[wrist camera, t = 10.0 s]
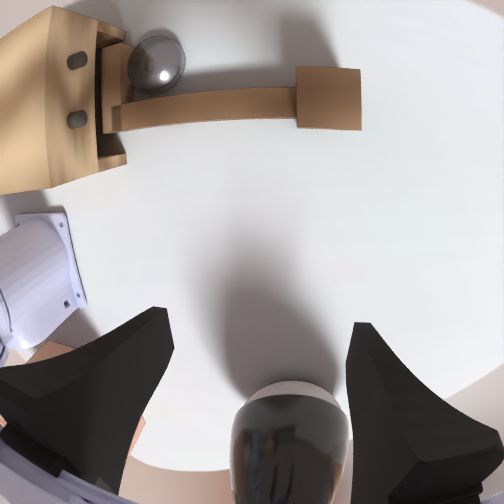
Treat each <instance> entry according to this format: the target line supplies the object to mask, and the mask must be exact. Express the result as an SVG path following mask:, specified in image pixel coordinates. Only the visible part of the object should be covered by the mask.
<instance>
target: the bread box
mask: <svg viewBox="0 0 504 504" xmlns="http://www.w3.org/2000/svg"><path fill="white" fill-rule="evenodd" d="M124 37H125V31H124V30H121V29H119V28H116V27H114V26H111V25H109V24H106V23H103V22H101V21H98V20H95V19H93V18H90V17H87V16H84V15H81V14H78V13H75V12H72V11H69V10H66V9H63V8H59V7H56V6H50V7H49V8H47V9H45V10H43V11H42V12H40V13H39V14H37V15H35V16H34V17H32V18H30V19H29V20H27V21H26V22H24V23H23V24H21V25H20V26H18V27H17V28H15V29H14V30H12V31H11V32H10V33H8V34H7V35H6V36H4V37H2V38H1V39H0V195H5V194H11V193H18V192H25V191H32V190H40V189H48V188H53V187H56V186H58V185H61V184H64V183H67V182H70V181H73V180H76V179H79V178H82V177H85V176H88V175H92V174H95V173H98V172H101V171H105V170H108V169H111V168H115V167H118V166H122V165H125V164H127V162H126V154H117V155H109V156H102V157H97V145H96V128H95V51H96V49H98V48H101V47H104V46H107V45H110V44H113V43H116V42H120V41H123V40H124Z"/></svg>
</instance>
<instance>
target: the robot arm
mask: <svg viewBox="0 0 504 504" xmlns="http://www.w3.org/2000/svg"><path fill="white" fill-rule="evenodd" d="M15 223H16V228H14V229H12V230H10V231H8V232H6V233H5V234H3V235H1V236H0V415H1V416H2V417H3V419H4V420H5V421H6V422H7V424H6V425H5V426H4V427H3V426H2V425H1V424H0V494H1V495H2V496H3V497H4V498H5V499H6V500H7V501H9V502H10V503H11V504H138V503H135V502H133V501H130V500H127V499H125V498H122V497H119V496H118V494H119V488H120V484H121V479H122V474H123V470H124V466H125V463H126V459H127V456H128V452H129V449H130V446H131V443H132V440H133V437H134V434H135V432H136V429H137V426H138V424H139V421H140V418H141V416H142V414H143V412H144V410H145V408H146V406H147V404H148V402H149V400H150V398H151V397H152V395H153V393H154V391H155V389H156V387H157V386H158V384H159V382H160V380H161V378H162V376H163V375H164V373H165V371H166V369H167V367H168V364H169V361H170V359H171V356H172V353H173V350H174V343H173V338H172V333H171V328H170V323H169V318H168V313H167V308H161V307H154V306H153V307H151V308H149V309H147V310H146V311H144V312H142V313H140V314H139V315H137V316H135V317H134V318H132V319H131V320H129V321H127V322H126V323H124V324H122V325H121V326H119V327H117V328H116V329H114V330H112V331H111V332H109V333H107V334H105V335H103V336H101V337H100V338H98V339H96V340H94V341H92V342H90V343H88V344H86V345H84V346H82V347H79V348H77V349H75V350H72V351H70V352H67V353H64V354H61V355H58V356H55V357H52V358H49V359H45V360H42V361H38V362H33V363H28V364H23V365H16V366H7V367H4V366H5V363H6V361H7V358H8V348H7V347H9V348H10V349H14V350H25V349H29V348H31V347H34V346H36V345H38V344H39V343H41V342H42V341H44V340H45V339H46V338H47V337H48V336H49V335H50V334H51V333H52V332H53V331H54V330H55V329H56V328H57V327H58V326H59V325H60V324H61V323H62V322H63V321H64V320H65V319H66V318H67V317H68V316H70V315H71V314H72V313H73V312H74V311H75V310H76V309H77V308H85V307H86V306H87V303H86V299H85V296H84V293H83V289H82V285H81V282H80V278H79V274H78V270H77V266H76V262H75V258H74V254H73V249H72V245H71V240H70V235H69V230H68V225H67V219H66V216H65V214H64V213H38V214H19V215H16V216H15ZM62 223H63V225H62ZM346 387H347V395H348V402H349V409H350V416H351V423H352V431H353V481H352V493H351V503H350V504H504V491H502V492H499V493H497V494H494V495H492V496H489V497H487V498H485V499H484V500H482V501H480V499H479V494H481V493H482V491H483V487H482V483H481V482H482V481H483V480H484V479H486V478H487V477H488V476H489V475H490V474H491V473H492V472H493V471H494V470H495V469H497V467H498V466H499V465H500V464H501V463H502V461H503V460H504V446H503V444H502V441H501V438H500V436H499V433H498V431H497V430H495V429H493V428H491V427H489V426H486V425H484V424H482V423H480V422H478V421H476V420H474V419H472V418H470V417H468V416H467V415H465V414H463V413H462V412H460V411H458V410H457V409H455V408H454V407H452V406H451V405H449V404H448V403H447V402H445V401H444V400H443V399H441V398H440V397H439V396H437V395H436V394H435V393H434V392H432V391H431V390H430V389H429V388H428V387H427V386H425V385H424V384H423V383H422V382H421V381H420V380H419V379H418V378H417V377H416V376H415V375H414V374H413V373H412V372H411V371H410V370H409V369H408V368H407V367H406V366H405V365H404V364H403V363H402V362H401V360H400V359H399V358H398V357H397V356H396V355H395V353H394V352H393V351H392V350H391V348H390V347H389V346H388V345H387V343H386V342H385V341H384V340H383V338H382V337H381V336H380V334H379V333H378V332H377V331H376V329H375V328H374V327H373V325H372V324H371V323H363V322H354V327H353V332H352V337H351V341H350V346H349V350H348V355H347V359H346Z"/></svg>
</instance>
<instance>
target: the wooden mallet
mask: <svg viewBox="0 0 504 504" xmlns="http://www.w3.org/2000/svg"><path fill="white" fill-rule="evenodd" d="M133 50H134V47H132V46H129V45H127V44H124V43H118V44H114V45H111V46H108V47H105V48H102V72H101V89H102V122H103V134H108V133H117V132H123V131H129V130H136V129H142V128H150V127H157V126H165V125H174V124H183V123H194V122H206V121H221V120H241V119H297V127H298V128H310V129H333V130H361V74H360V69H349V68H336V67H316V66H296V87H266V88H242V89H227V90H214V91H204V92H195V93H187V94H179V95H172V96H165V97H159V98H153V99H147V100H142V101H136V102H134V85H133V84H132V83H131V81H130V80H129V77H128V73H127V65H128V60H129V58H130V55H131V53H132V52H133Z"/></svg>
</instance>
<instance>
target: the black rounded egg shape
mask: <svg viewBox="0 0 504 504" xmlns="http://www.w3.org/2000/svg"><path fill="white" fill-rule="evenodd" d="M348 443H349V422H348V419H347V416H346V415H345V413H344V412H343V411H342V410H341V407H340V405H339V404H338V402H337V401H336V400H335V398H334V397H333V396H332V395H331V394H330V393H329V392H327V391H326V390H324V389H323V388H321V387H319V386H317V385H314V384H311V383H307V382H302V381H282V382H277V383H273V384H270V385H268V386H266V387H264V388H262V389H260V390H259V391H257V392H256V393H255V394H253V395H252V396H251V397H250V398H249V399H248V401H247V402H246V403H245V405H244V406H243V407H242V408H240V410H239V411H238V412H237V414H236V415H235V418H234V421H233V425H232V431H231V442H230V477H231V488H232V495H233V500H234V504H332V502H333V500H334V497H335V495H336V492H337V489H338V487H339V483H340V481H341V478H342V474H343V471H344V467H345V462H346V457H347V450H348Z"/></svg>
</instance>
